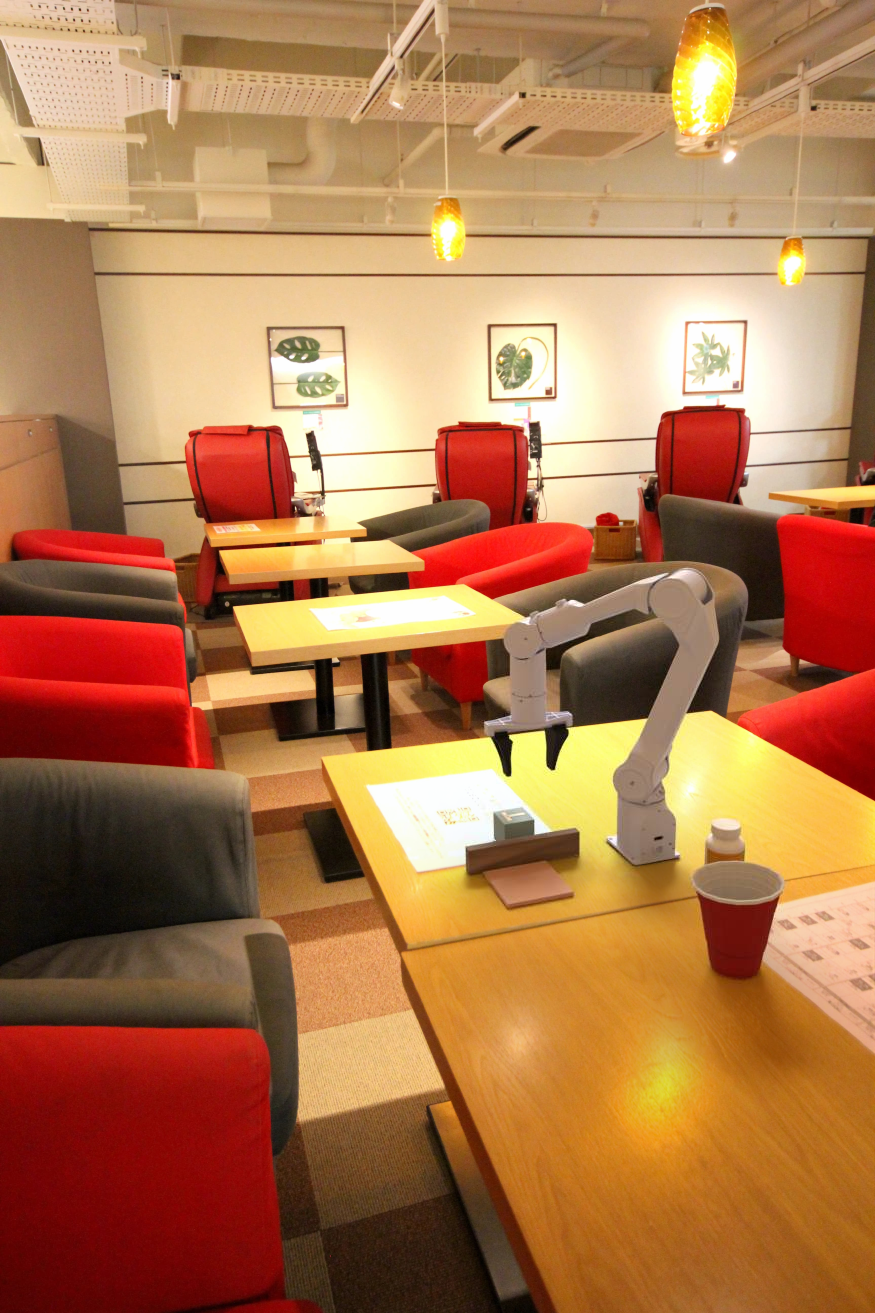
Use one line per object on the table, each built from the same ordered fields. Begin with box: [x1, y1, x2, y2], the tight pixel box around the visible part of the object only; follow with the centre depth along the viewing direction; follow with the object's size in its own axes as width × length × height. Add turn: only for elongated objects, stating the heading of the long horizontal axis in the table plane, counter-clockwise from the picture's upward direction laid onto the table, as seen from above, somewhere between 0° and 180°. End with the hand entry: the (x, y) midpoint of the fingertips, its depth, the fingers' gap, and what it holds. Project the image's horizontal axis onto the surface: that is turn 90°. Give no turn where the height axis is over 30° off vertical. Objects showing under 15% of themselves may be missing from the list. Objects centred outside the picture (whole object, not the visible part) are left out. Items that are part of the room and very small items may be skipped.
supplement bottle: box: [703, 817, 746, 865], centre depth 128 cm, size 5×5×10 cm
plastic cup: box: [689, 860, 787, 980], centre depth 110 cm, size 11×11×12 cm
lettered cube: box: [492, 807, 536, 841], centre depth 144 cm, size 5×5×5 cm
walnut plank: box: [465, 827, 581, 876], centre depth 138 cm, size 2×18×4 cm, turn 107°
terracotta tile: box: [483, 860, 575, 909], centre depth 132 cm, size 10×10×1 cm
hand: (529, 771), depth 149 cm, fingers open, 7 cm apart
